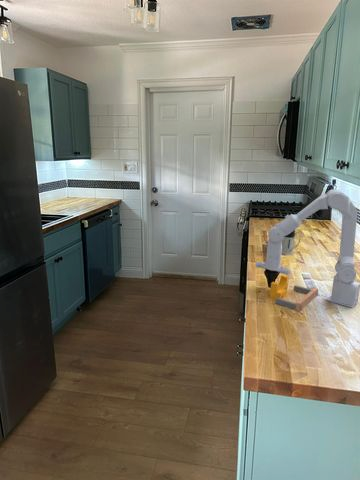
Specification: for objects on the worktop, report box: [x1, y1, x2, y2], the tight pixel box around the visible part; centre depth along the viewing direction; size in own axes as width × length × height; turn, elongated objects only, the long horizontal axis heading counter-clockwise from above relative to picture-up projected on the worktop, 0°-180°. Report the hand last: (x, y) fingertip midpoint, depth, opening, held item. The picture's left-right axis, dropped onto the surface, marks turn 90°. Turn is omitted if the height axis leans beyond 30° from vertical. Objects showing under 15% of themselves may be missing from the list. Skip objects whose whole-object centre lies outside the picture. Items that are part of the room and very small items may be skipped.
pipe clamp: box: [269, 274, 290, 300], centre depth 138 cm, size 12×4×6 cm, turn 142°
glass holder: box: [281, 229, 302, 256], centre depth 191 cm, size 9×14×15 cm, turn 25°
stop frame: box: [275, 284, 319, 312], centre depth 134 cm, size 10×19×3 cm, turn 139°
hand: (270, 287), depth 141 cm, fingers closed
